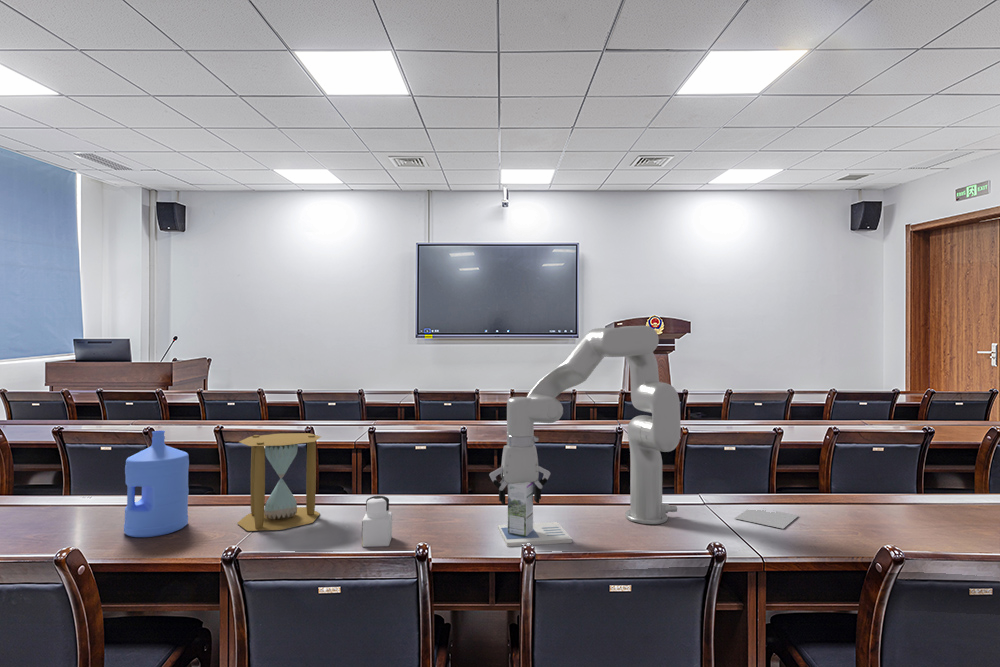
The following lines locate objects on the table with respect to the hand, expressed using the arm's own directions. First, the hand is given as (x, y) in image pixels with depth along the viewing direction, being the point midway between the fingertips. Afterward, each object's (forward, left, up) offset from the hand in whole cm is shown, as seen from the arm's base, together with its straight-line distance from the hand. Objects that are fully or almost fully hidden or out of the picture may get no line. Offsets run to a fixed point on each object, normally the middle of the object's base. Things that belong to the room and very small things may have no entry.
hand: (519, 502), depth 151 cm
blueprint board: (-4, 0, -9) cm, 10 cm away
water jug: (+102, -23, -10) cm, 105 cm away
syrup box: (0, 0, -8) cm, 8 cm away
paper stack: (-79, +3, -10) cm, 80 cm away
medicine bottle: (+39, -2, -10) cm, 40 cm away
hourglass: (+69, -26, -10) cm, 74 cm away
